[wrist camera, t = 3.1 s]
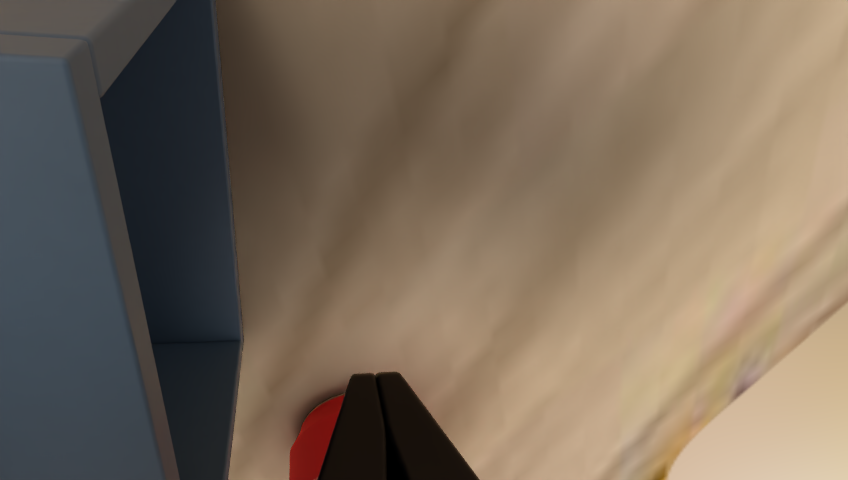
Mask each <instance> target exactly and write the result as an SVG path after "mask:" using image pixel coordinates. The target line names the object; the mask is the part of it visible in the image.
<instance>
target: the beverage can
mask: <svg viewBox="0 0 848 480" xmlns="http://www.w3.org/2000/svg"><path fill="white" fill-rule="evenodd" d="M344 396H345V393H343V394H340V395H337V396H334V397H332V398H329V399H327V400H325V401H324V402H322V403H320V404H319V405H318V406H316V407H315V408H314V409H313V410H312V411H311V412H310V413H309V414H308V415H307V416H306V418H305V420H304V421H303V424H302V426H301V431H300V433H299V435H298V437H297V439H296V440H295V442H294V444H293V445H292V447H291V450H290V473H289V480H317V479H318V476H319V473H320V470H321V467H322V464H323V460H324V457H325V454H326V451H327V448H328V445H329V442H330V439H331V436H332V433H333V430H334V427H335V424H336V421H337V418H338V414H339V411H340V408H341V405H342V402H343V399H344Z"/></svg>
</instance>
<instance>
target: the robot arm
mask: <svg viewBox="0 0 848 480" xmlns="http://www.w3.org/2000/svg"><path fill="white" fill-rule="evenodd" d="M317 480H479V478H478V477H477V476H476V474H475V473H474V472H473V470H472V469H471V468H470V466H469V465H468V464H467V462H466V461H465V460H464V458H463V457H462V456H461V454H460V453H459V452H458V450H457V449H456V448H455V446H454V445H453V444H452V442H451V441H450V440H449V438H448V437H447V436H446V434H445V433H444V432H443V430H442V429H441V428H440V426H439V425H438V424H437V422H436V421H435V419H434V418H433V417H432V415H431V414H430V413H429V411H428V410H427V409H426V407H425V406H424V405H423V403H422V402H421V401H420V399H419V398H418V397H417V395H416V394H415V393H414V391H413V390H412V389H411V387H410V386H409V385H408V383H407V382H406V381H405V379H404V378H403V377H402V375H401V374H400V373H398V372H381V373H377V374H376V376H375V375H374V374H373V373H362V374H353V375H352V376H351V378H350V381H349V384H348V387H347V390H346V393H345V396H344V399H343V402H342V405H341V408H340V411H339V414H338V418H337V421H336V424H335V427H334V430H333V433H332V436H331V439H330V442H329V445H328V448H327V451H326V454H325V457H324V460H323V464H322V467H321V470H320V473H319V476H318V479H317Z"/></svg>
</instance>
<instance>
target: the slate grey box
mask: <svg viewBox="0 0 848 480" xmlns="http://www.w3.org/2000/svg"><path fill="white" fill-rule="evenodd" d="M243 342H244V336H243V324H242V312H241V300H240V288H239V276H238V264H237V252H236V240H235V228H234V216H233V204H232V192H231V180H230V168H229V155H228V143H227V131H226V119H225V107H224V95H223V83H222V71H221V59H220V47H219V35H218V23H217V11H216V0H0V480H228V475H229V466H230V457H231V448H232V440H233V431H234V422H235V413H236V404H237V395H238V386H239V377H240V369H241V360H242V351H243Z"/></svg>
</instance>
